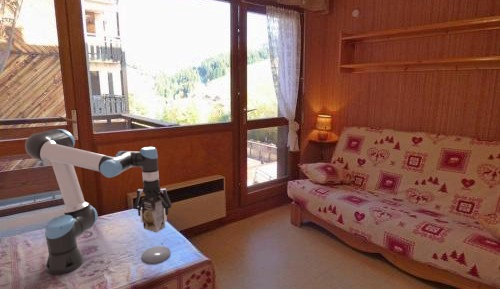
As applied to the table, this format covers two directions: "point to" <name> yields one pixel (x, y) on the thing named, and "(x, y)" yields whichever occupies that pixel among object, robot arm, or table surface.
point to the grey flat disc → (155, 254)
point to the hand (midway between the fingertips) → (154, 221)
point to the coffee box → (153, 214)
